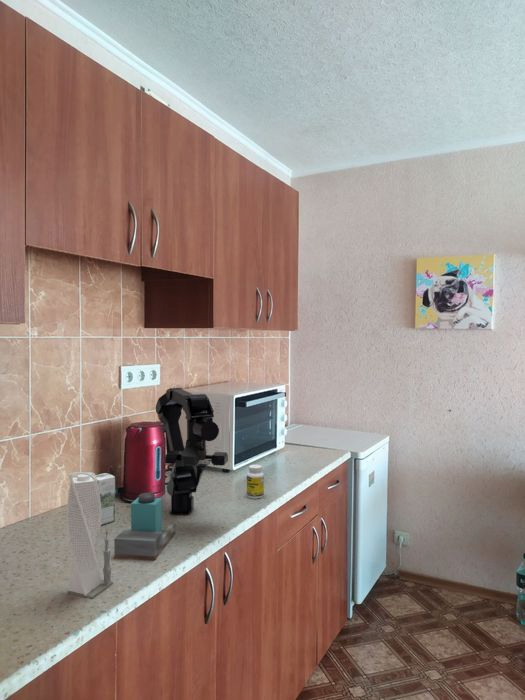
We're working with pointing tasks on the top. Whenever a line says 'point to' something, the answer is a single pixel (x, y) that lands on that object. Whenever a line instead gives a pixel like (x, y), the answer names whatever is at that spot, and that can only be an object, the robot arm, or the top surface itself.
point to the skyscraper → (86, 536)
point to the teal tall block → (146, 513)
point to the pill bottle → (255, 482)
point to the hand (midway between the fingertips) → (196, 485)
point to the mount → (142, 543)
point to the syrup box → (106, 497)
